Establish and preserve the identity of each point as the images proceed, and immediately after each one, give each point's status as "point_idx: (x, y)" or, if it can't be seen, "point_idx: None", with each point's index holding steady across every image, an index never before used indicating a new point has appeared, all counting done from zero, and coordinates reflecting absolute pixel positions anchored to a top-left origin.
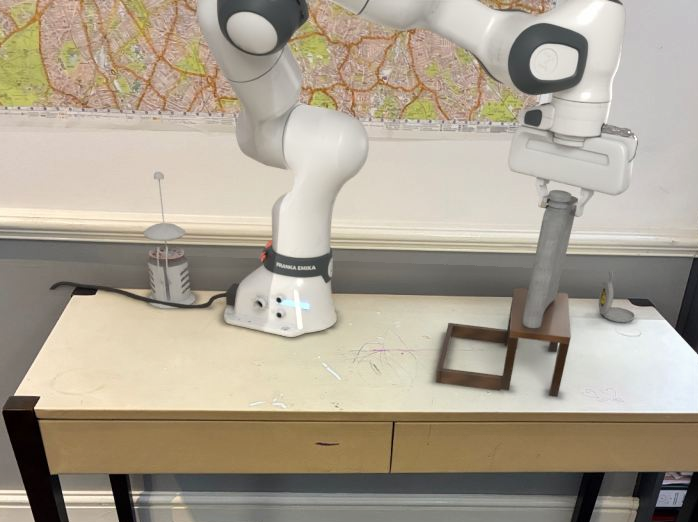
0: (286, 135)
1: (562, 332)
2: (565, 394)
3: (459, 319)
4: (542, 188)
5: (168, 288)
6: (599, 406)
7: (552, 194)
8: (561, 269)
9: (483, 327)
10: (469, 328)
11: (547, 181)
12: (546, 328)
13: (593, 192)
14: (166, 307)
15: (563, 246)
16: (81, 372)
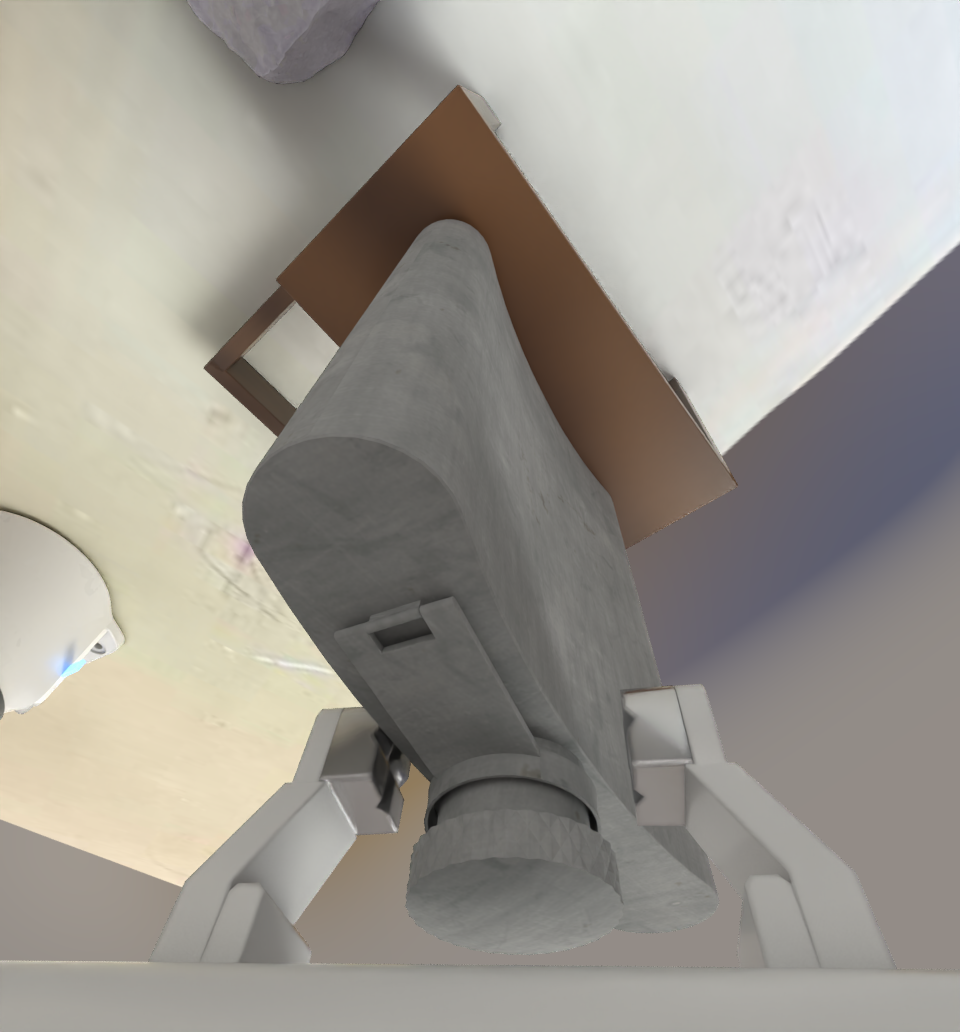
0: None
1: (695, 478)
2: (696, 364)
3: (123, 225)
4: (298, 891)
5: None
6: (809, 341)
7: (492, 949)
8: (488, 299)
9: (278, 298)
10: (260, 334)
11: (272, 936)
12: (635, 495)
13: (864, 908)
14: None
15: (503, 414)
16: (160, 851)
